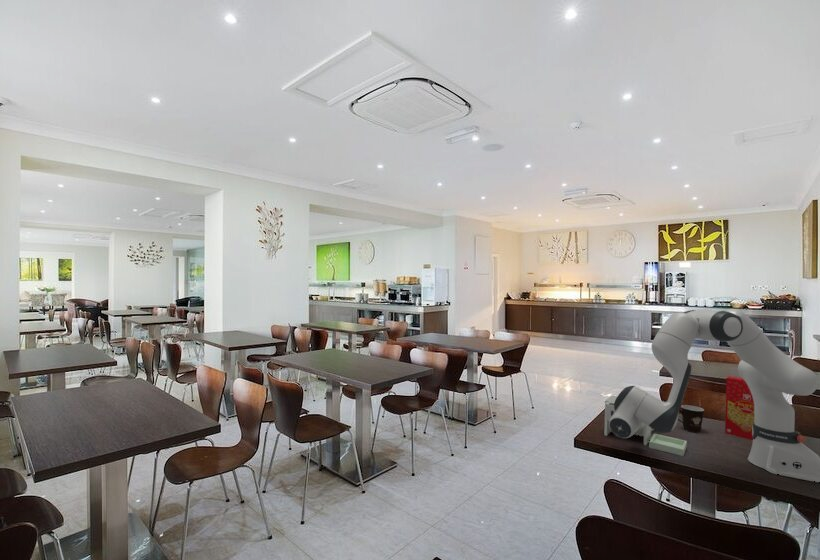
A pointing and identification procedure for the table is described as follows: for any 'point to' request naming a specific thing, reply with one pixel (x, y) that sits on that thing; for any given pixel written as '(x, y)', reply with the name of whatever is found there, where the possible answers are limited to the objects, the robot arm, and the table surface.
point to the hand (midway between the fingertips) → (637, 407)
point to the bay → (641, 431)
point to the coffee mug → (692, 418)
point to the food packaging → (739, 408)
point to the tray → (668, 444)
